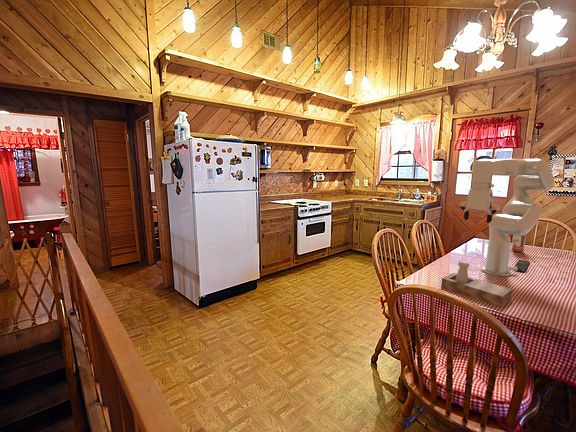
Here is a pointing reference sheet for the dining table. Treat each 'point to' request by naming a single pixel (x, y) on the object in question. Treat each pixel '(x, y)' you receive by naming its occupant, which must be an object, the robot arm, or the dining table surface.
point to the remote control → (522, 266)
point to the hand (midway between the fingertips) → (477, 221)
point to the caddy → (479, 290)
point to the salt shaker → (462, 272)
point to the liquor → (518, 243)
